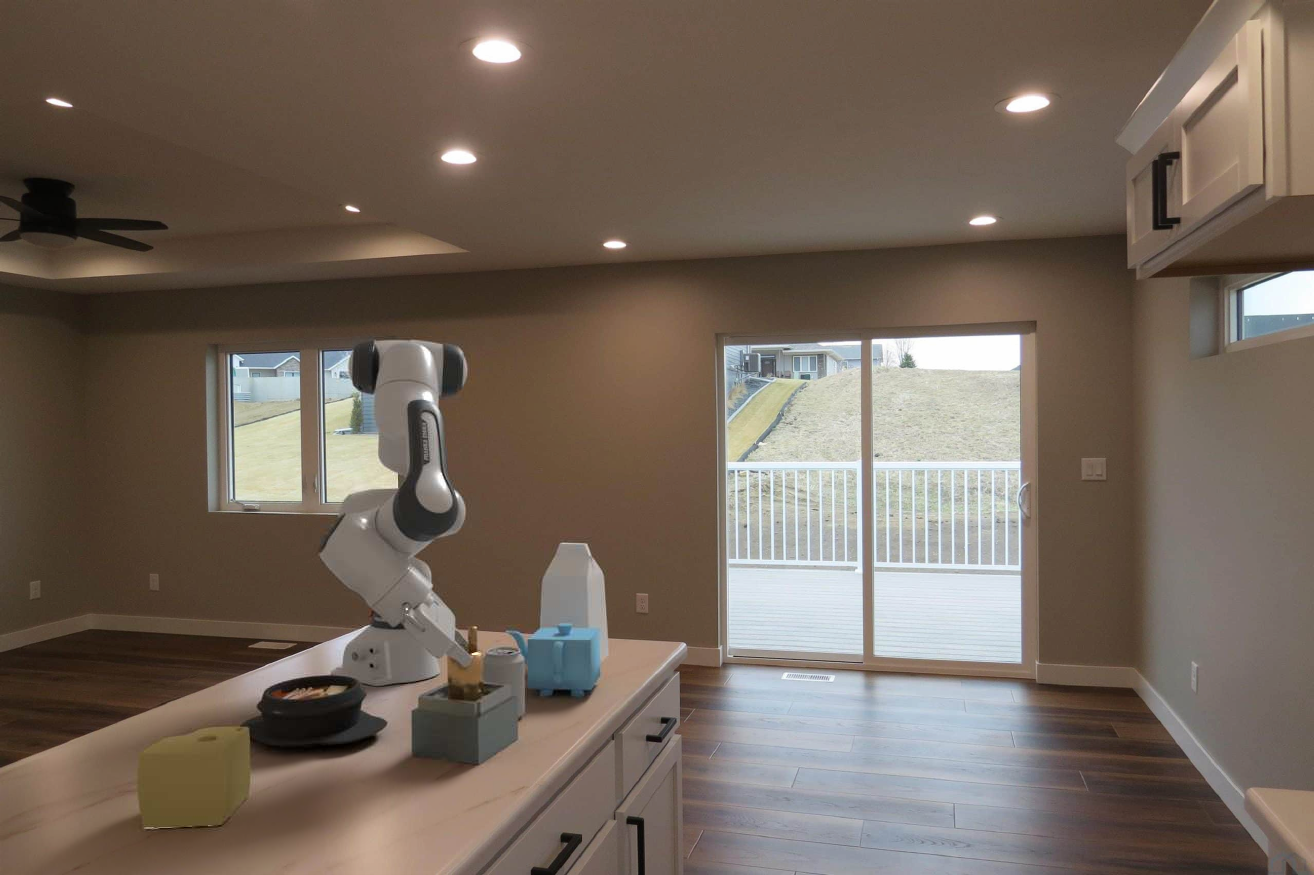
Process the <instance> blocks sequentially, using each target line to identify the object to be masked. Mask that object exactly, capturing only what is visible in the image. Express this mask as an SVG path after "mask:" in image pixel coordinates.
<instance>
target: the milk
mask: <svg viewBox="0 0 1314 875" xmlns="http://www.w3.org/2000/svg"><path fill="white" fill-rule="evenodd" d="M540 597H541V598H540V620H539V621H540V622H539V625H540V626H539V629H540V628H557V625H558V624H561V623H570V624H572V628H600V662H601V661H603V660H604V659H606V657H607V656H609V657H610V653H609V652H610V651H609V649H610V648H609V633H608V619H607V603H606V586H605V576H604V573H603V570H602V569H601V567H600V566H599V565H598V563H597V561H596V560H595V558H594V557H593V556H592V553H591V550H590V548H589V545H588V543H579V542H578V543H577V542H560V543H559V545H558V547H557V550H556V552H555V556H554V557H553V558H552V561H551V562H550V563H549V566H548V568H547V569H546V571H545V573H544V575H543V578H542V582H541V595H540ZM606 660H607V659H606ZM604 661H605V660H604ZM604 661H603V662H604ZM601 663H602V662H601Z"/></svg>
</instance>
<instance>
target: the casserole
mask: <svg viewBox="0 0 1314 875" xmlns="http://www.w3.org/2000/svg"><path fill="white" fill-rule="evenodd" d="M366 697H367V692H366V691H365V690H364V689H363V687H362V683H360V682H359V681H358V680H357V679H355V678H352V677H347V676H336V675H331V674H329V675H325V674H324V675H312V676H305V677H297V678H292V679H289V680H284V681H281V682H277V683H275V684H273V685H270V686H269V687H267V688H266V689H265V690H264V691H263V693H262V695H261V700H260V701H258V703H257V704H256V709H257V711H259V712H260V713H261V714H259V715H257V716H253V717H252V718H249V719H248V720H245V721H244V722H243V723H241V724H240V725H239V726H238V727H248V728H249V735H250V738H252V739H254V740H256V741H257V742H260V743H262V744H265V745H270V746H277V747H283V748H291V749H292V748H296V749H297V748H298V749H300V748H302V749H304V748H305V749H306V748H315V747H321V746H324V745H343V744H345V745H346V744H352V743H355V742H359V741H362V740H365V739H367V738H369V737H372V736H373V735H376V734H378V733H380V731H383V730H384V729H385V728H386V727H387V725H388V722H387V720H386V719H384V718H382V717H379V716H375V715H371V714H370V713H368V712H366V711H364V710H362V705H363V701H364V700H365V699H366Z"/></svg>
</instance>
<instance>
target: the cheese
mask: <svg viewBox="0 0 1314 875" xmlns="http://www.w3.org/2000/svg"><path fill="white" fill-rule="evenodd" d="M250 738H251V736H250V735H249V728H248V727H239V726H212V727H210V726H209V727H203V728H199V729H197V730H195V731H193V732H190V733H187V734H182V735H176V736H175V735H174V736H167V737H164V738H163V739H161V740H159V741H158V742H155V743H153V744H151V745H150V746H148V747H146V748H145V749H143V751H142V752H141V753H140V754H139V757H138V758H139V760H138V768H137V770H138V771H137V781H136V782H137V798H138V799H137V800H138V805H139V806H138V807H139V813H140V818H141V823H142V829H143V828H145V827H154V828H158V827H172V828H173V827H174V828H173V829H178V828H177V827H189V826H208V825H222V824H223V823H224V822H225V821H226V820H227V819H228V818H229V817H230V818H231V817H232V815H233V814H234V813H235V812H236V810H237V809H238V808H239V807H240V806H241V805H242V804H243V803H244V802H245V801H246V800H245V799H246V798H247V799H248V798H249V796H250V787H251V786H250V785H251V739H250ZM244 800H245V801H244ZM243 801H244V802H243ZM242 802H243V803H242ZM241 803H242V804H241ZM239 805H240V806H239ZM237 807H238V808H237ZM234 811H235V812H234ZM233 812H234V813H233ZM230 818H229V819H230ZM229 819H228V820H229ZM228 820H227V821H228ZM227 821H226V822H227ZM226 822H225V823H226ZM225 823H224V824H225ZM224 824H223V825H224ZM223 825H222V826H223ZM175 827H176V828H175ZM208 827H209V826H208Z"/></svg>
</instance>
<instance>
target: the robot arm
mask: <svg viewBox="0 0 1314 875" xmlns="http://www.w3.org/2000/svg"><path fill="white" fill-rule="evenodd" d="M347 366H348V367H347V369H348V374H349V377H350V378H349V379H350V380H351V382H352V383H351V384H352V387H354V388H355V389H356V390H357V391H358V392H361V393H364V394H368V395H374V400H373V402H374V403H373V414H374V421H375V426H376V427H377V429H378V443H377V444H378V449H377V450H378V451H377V452H378V453H377V455H378V458H379V462H380V463H381V464H382V465H383V467H385V468H386V469H388V470H390V471H392V472H393V473H396V474H398V475H400V476H402V477H404V480H403V481H402V483H401V484H400V486H399V487H398V488H394V487H392V488H370V489H365V490H361V491H358V492H353V493H350V494H348V495H347V496H345V498H344V499H343V501H342V502H341V504H340V507H339V509H338V515H337V516H338V517H337V518H336V520H335V521H333V523H331V526H330V527H329V528H328V529H327V530H326V532H325V533H324V535H323V536H322V538H321V539H320V541H319V542H318V549H317V553H318V555H319V557H320V559H321V561H322V562H323V563H324V564H325V566H326V567H327V568H328V569H329V570H330V571H331V573H332V574H334V575H335V577H337V578H338V579H339V580H340V581H341V582H342V583H343V584H344V585H345V586H347V588H349V590H352V591H354V592H356V593H358V594H359V595H360V596H361V597H362V598H363V599H364V600H365V602H366V604H367V605H368V606H369V607H370V608H371V609H372V610H370V611H367V612H365V614H367V615H366V616H365V618H367V619H368V618H370V617H371V619H370V622H369V626H367V627H366V628H365V629H364V630H363V631H361V632H360V633H359V634H358V635H356V636H355V637H354V638H353V639H352V640H350V641H349V642H348V643H347V644H346V646H345V648H344V651H343V655H342V663H341V664H340V665H338V666H336V667H335V668H333V669H332V670H331V672H330V675H336V676H347V677H352V678H355V679H357V680H358V681H359V682H360V684H366V685H370V686H375V687H381V686H387V685H392V684H401V683H403V684H404V683H411V682H416V681H417V682H418V681H422V680H427V679H430V678H432V677H436V676H438V675H439V673H441V668H440V665H439V662H438V660H440V659H441V658H443V657H444V656H445V655H448V656H449V657H451V658H453V659H454V660H456V661H458V662H459V663H460V664H461V665H462V666H464V667H468V665H469V664H470V663H471V662H472V661H473V659H472V656H471V655H470V654H469V653H468V652H467V651H466V650H464V649H468V640H467V639H466V638H465V637H464V635H463V634H462V633H461V631H460V630H459V629H458V628H456V617H455V614H454V613H453V612H452V610H451V609H450V608H449V606H447V605H446V604H445V603H444V601H443V600H442V599H441V598H440V596H438V595H437V594H436V593H435V591H433V587H434V584H433V583H432V571H431V569H430V566H429V565H428V564H427V563H426V562H424V561H423V560H421V559H419V558H417V557H415V556H416V555H417V554H418V553H420V552H421V551H422V550H424V549H425V548H426V547H427V546H428V545H429V544H431V543H432V542H433V541H434V540H435V539H439V538H443V537H444V538H445V537H447V536H450V535H453V534H457V533H458V532H459V530H460V529H461V528H462V526H463V525H464V522H465V519H466V505H465V501H464V499H463V497H462V496H461V494H460V493H459V492H458V491H457V490H456V489H454V487H453V485H452V482H451V479H450V478H451V477H450V475H449V468H448V456H447V445H446V433H445V432H446V431H445V425H444V419H443V415H442V413H441V411H440V409H439V397H440V399H441V401H443V400H446V398H450V397H453V396H456V395H457V394H459V393H460V392H461V391H462V390H463V386H464V385H465V383H466V380H467V377H468V363H467V360H466V356H464V351H463V350H462V349H461V348H460V346H457V345H454V344H450V343H447V342H444V343H443V344H442V343H438V342H433V341H428V340H427V341H426V340H420V339H419V340H417V339H410V340H405V339H404V340H403V339H398V340H397V339H395V340H394V339H389V340H388V339H387V340H377V339H375V338H374V339H367V340H361V341H359V342H357V344H356V345H355V346H354V347H353V350H352V352H351V354H350V356H349V359H348V363H347Z"/></svg>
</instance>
